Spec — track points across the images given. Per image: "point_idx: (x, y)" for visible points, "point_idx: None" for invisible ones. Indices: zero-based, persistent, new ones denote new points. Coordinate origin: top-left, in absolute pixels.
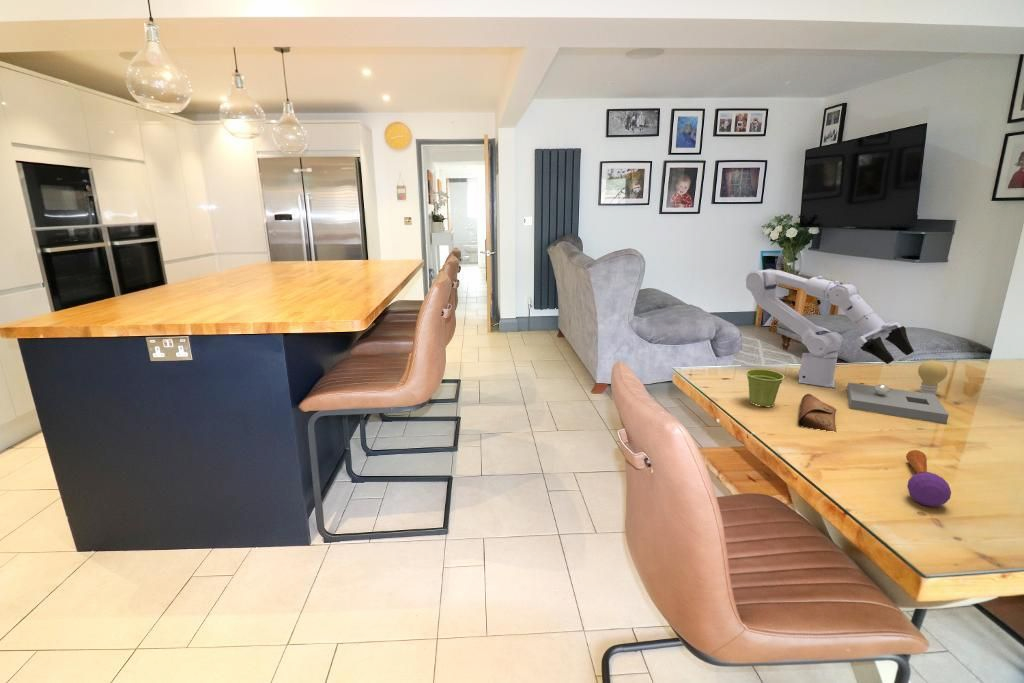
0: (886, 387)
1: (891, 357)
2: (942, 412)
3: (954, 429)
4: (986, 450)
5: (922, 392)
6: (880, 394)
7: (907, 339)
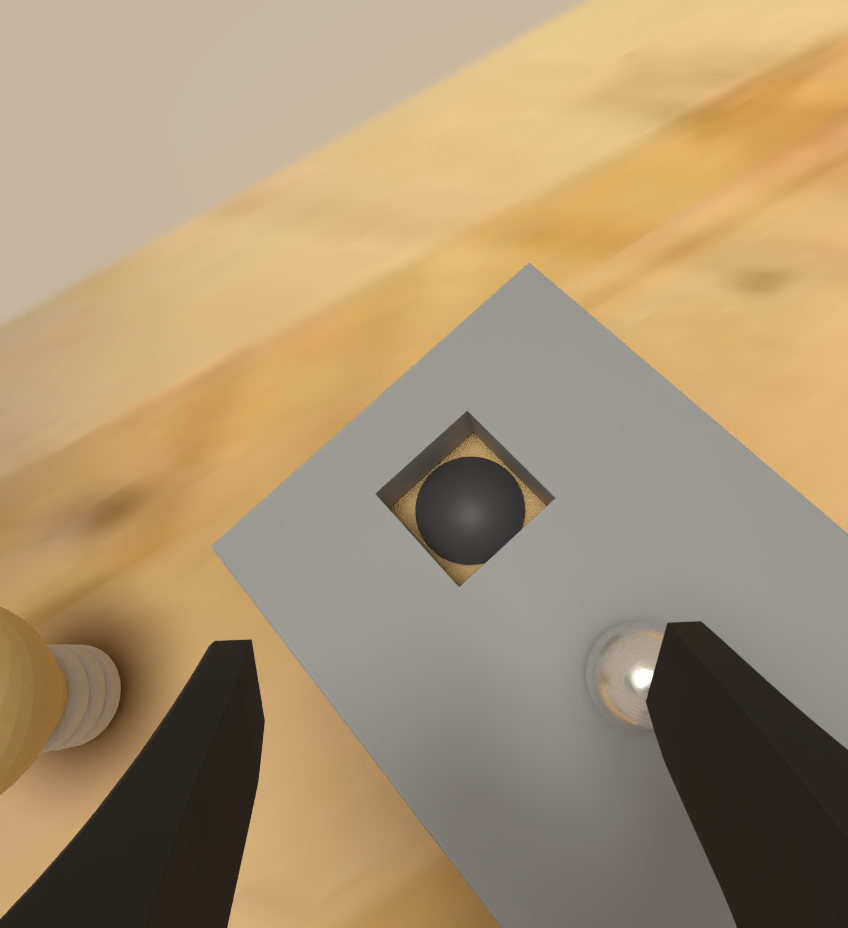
0: (644, 635)
1: (716, 651)
2: (527, 296)
3: (564, 236)
4: (676, 42)
5: (118, 702)
6: None
7: (100, 830)
